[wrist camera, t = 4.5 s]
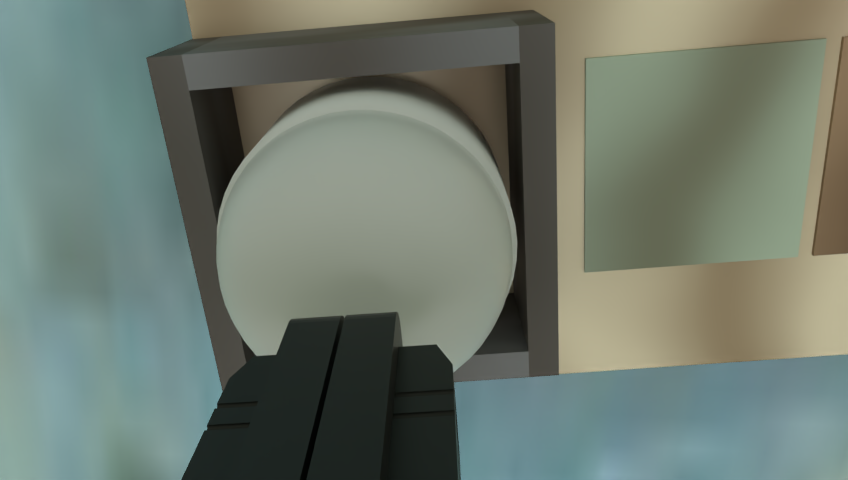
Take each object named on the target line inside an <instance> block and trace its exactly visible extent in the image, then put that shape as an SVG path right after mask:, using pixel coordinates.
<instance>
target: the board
mask: <svg viewBox="0 0 848 480" xmlns="http://www.w3.org/2000/svg"><path fill="white" fill-rule="evenodd" d="M185 3H186V8H187V12H188V17H189V22H190V27H191V32H192V37H193V39H192V40H189V41H187V42H184V43H182V44H179V45H177V46H174V47H172V48H169V49H167V50H164V51H162V52H160V53H157V54H155V55H152V56H150V57H147V58H146V59H147V63H148V67H149V72H150V76H151V80H152V85H153V89H154V93H155V98H156V102H157V107H158V111H159V115H160V120H161V124H162V128H163V133H164V137H165V142H166V146H167V150H168V155H169V159H170V163H171V168H172V172H173V176H174V181H175V185H176V190H177V194H178V198H179V203H180V207H181V211H182V216H183V220H184V224H185V229H186V233H187V238H188V242H189V246H190V251H191V255H192V259H193V264H194V268H195V273H196V277H197V281H198V286H199V290H200V294H201V299H202V303H203V307H204V312H205V316H206V321H207V325H208V329H209V334H210V338H211V342H212V347H213V351H214V355H215V360H216V364H217V369H218V373H219V377H220V382H221V386H222V390H224V388H225V386H226V384H227V382H228V380H229V378H230V377H231V376H232V375H233V374H235V373H236V372H237V371H238V370H239V369H240V368H241V367H242V366H244V365H245V364H246V363H247V362H248V361H249V360H250V359H251V358H253V357H254V356H256V355H255V354H254V352H253V351H252V350H251V349H250V348H249V346H248V345H247V344H246V343H245V341H244V340H243V338H242V337H241V335H240V333H239V332H238V330H237V328H236V327H235V325H234V323H233V321H232V319H231V317H230V315H229V313H228V310H227V308H226V306H225V303H224V300H223V296H222V293H221V289H220V284H219V277H218V270H217V263H216V245H217V224H218V217H219V210H220V207H221V204H222V200H223V197H224V194H225V191H226V189H227V187H228V185H229V183H230V181H231V179H232V176H233V175H234V173H235V172H236V170H237V169H238V167H239V166H240V164H241V163H242V161H243V160H244V159H245V157H246V156H247V155H248V154H249V153H250V152H251V150H252V149H253V148H254V147H255V146H256V144H257V143H258V142H259V141H260V140H261V139H262V137H263V136H264V135H265V134H266V133H267V131H268V130H269V129H270V128H271V127H272V126H273V124H274V123H275V122H276V121H277V120H278V119H279V118H280V117H281V115H282V114H283V113H284V112H285V111H286V110H287V109H288V108H290V107H291V106H292V105H293V104H294V103H296V102H297V101H298V100H299V99H301V98H303V97H304V96H306V95H307V94H309V93H311V92H312V91H314V90H316V89H319V88H321V87H323V86H325V85H328V84H331V83H334V82H337V81H341V80H344V79H350V78H357V77H373V76H381V77H389V78H398V79H402V80H406V81H410V82H414V83H416V84H419V85H421V86H424V87H426V88H429V89H431V90H433V91H435V92H437V93H438V94H440V95H442V96H444V97H446V98H447V99H448V100H450V101H451V102H452V103H454V104H455V105H456V106H458V107H459V108H460V109H461V110H462V111H463V112H464V113H465V114H466V115H467V116H468V117H469V118H470V119H471V120H472V121H473V122H474V123H475V125H476V126H477V127H478V128H479V130H480V131H481V132H482V134H483V135H484V137H485V139H486V141H487V142H488V144H489V146H490V148H491V150H492V152H493V155H494V157H495V160H496V162H497V165H498V168H499V171H500V175H501V178H502V181H503V184H504V187H505V190H506V193H507V196H508V199H509V202H510V205H511V209H512V213H513V217H514V221H515V226H516V235H517V261H516V267H515V272H514V278H513V281H512V284H511V287H510V290H509V293H508V296H507V298H506V300H505V303H504V306H503V309H502V311H501V313H500V315H499V317H498V320H497V322H496V324H495V325H494V327H493V329H492V331H491V332H490V334H489V335H488V337H487V338H486V340H485V341H484V343H483V344H482V346H481V347H480V348H479V349H478V350H477V351H476V352H475V353H474V355H473V356H472V357H471V358H470V359H469V360H468V361H466V362H465V363H464V364H463V365H462V366H461V367H459V368H458V369H457V370H456V371H455V372H454V373H453V376H454V382H462V381H477V380H492V379H506V378H521V377H536V376H550V375H559V374H566V373H581V372H595V371H610V370H625V369H639V368H654V367H668V366H683V365H698V364H712V363H727V362H742V361H756V360H771V359H785V358H800V357H815V356H829V355H844V354H848V0H185Z"/></svg>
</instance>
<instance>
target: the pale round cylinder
mask: <svg viewBox="0 0 848 480" xmlns="http://www.w3.org/2000/svg"><path fill="white" fill-rule="evenodd" d="M516 261H517V235H516V226H515V221H514V217H513V213H512V209H511V205H510V202H509V199H508V196H507V193H506V190H505V187H504V184H503V181H502V178H501V175H500V171H499V168H498V165H497V162H496V160H495V157H494V155H493V152H492V150H491V148H490V146H489V144H488V142H487V141H486V139H485V137H484V135H483V134H482V132H481V131H480V130H479V128H478V127H477V126H476V125H475V123H474V122H473V121H472V120H471V119H470V118H469V117H468V116H467V115H466V114H465V113H464V112H463V111H462V110H461V109H460V108H459V107H458V106H456V105H455V104H454V103H452V102H451V101H450V100H448V99H447V98H446V97H444V96H442V95H440V94H438V93H437V92H435V91H433V90H431V89H429V88H426V87H424V86H421V85H419V84H416V83H414V82H410V81H406V80H402V79H398V78H389V77H381V76H373V77H357V78H350V79H344V80H341V81H337V82H334V83H331V84H328V85H325V86H323V87H321V88H319V89H316V90H314V91H312V92H311V93H309V94H307V95H306V96H304V97H303V98H301V99H299V100H298V101H297V102H296V103H294V104H293V105H292V106H291V107H290V108H288V109H287V110H286V111H285V112H284V113H283V114H282V115H281V117H280V118H279V119H278V120H277V121H276V122H275V123H274V124H273V126H272V127H271V128H270V129H269V130H268V131H267V133H266V134H265V135H264V136H263V137H262V139H261V140H260V141H259V142H258V143H257V144H256V146H255V147H254V148H253V149H252V150H251V152H250V153H249V154H248V155H247V156H246V157H245V159H244V160H243V161H242V163H241V164H240V166H239V167H238V169H237V170H236V172H235V173H234V175H233V176H232V179H231V181H230V183H229V185H228V187H227V189H226V191H225V194H224V197H223V200H222V204H221V207H220V210H219V217H218V224H217V245H216V263H217V270H218V277H219V284H220V289H221V293H222V296H223V300H224V303H225V306H226V308H227V310H228V313H229V315H230V317H231V319H232V321H233V323H234V325H235V327H236V328H237V330H238V332H239V333H240V335H241V337H242V338H243V340H244V341H245V343H246V344H247V345H248V346H249V348H250V349H251V350H252V351H253V352H254V354H255V355H256V356H264V355H276V354H277V351H278V349H279V346H280V343H281V341H282V338H283V336H284V333H285V330H286V328H287V325H288V323H289V321H290V320H291V319H296V318H311V317H327V316H344V318H345V316H346V315H354V314H370V313H385V312H398V314H399V319H400V325H401V334H402V344H403V346H418V345H434V344H437V346H438V347H439V348H440V349H441V351H442V352H443V353H444V354H445V355H446V357H447V358H448V359H449V360H450V362H451V363H452V364H453V373H454V372H455V371H456V370H457V369H458V368H459V367H461V366H462V365H463V364H464V363H465V362H466V361H468V360H469V359H470V358H471V357H472V356H473V355H474V353H475V352H476V351H477V350H478V349H479V348H480V347H481V346H482V344H483V343H484V341H485V340H486V338H487V337H488V335H489V334H490V332H491V331H492V329H493V327H494V325H495V324H496V322H497V320H498V317H499V315H500V313H501V311H502V309H503V306H504V303H505V300H506V298H507V296H508V293H509V290H510V287H511V284H512V281H513V278H514V272H515V267H516Z"/></svg>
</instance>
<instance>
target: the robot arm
mask: <svg viewBox="0 0 848 480" xmlns="http://www.w3.org/2000/svg"><path fill="white" fill-rule="evenodd" d="M182 480H461V473H460V454H459V441H458V428H457V415H456V402H455V389H454V376H453V364H452V363H451V362H450V360H449V359H448V358H447V357H446V355H445V354H444V353H443V352H442V351H441V349H440V348H439V347H438V346H437V344H434V345H418V346H403V344H402V334H401V325H400V319H399V314H398V312H385V313H370V314H354V315H346V316H345V318H344V316H327V317H311V318H296V319H291V320H290V321H289V323H288V325H287V328H286V330H285V333H284V336H283V338H282V341H281V343H280V346H279V349H278V351H277V354H276V355H264V356H254V357H253V358H251V359H250V360H249V361H248V362H247V363H246V364H245V365H244V366H242V367H241V368H240V369H239V370H238V371H237V372H236V373H235V374H233V375H232V376H231V377H230V378H229V380H228V382H227V384H226V386H225V388H224V390H223V392H222V395H221V397H220V399H219V401H218V403H217V409H214V412H213V414H212V416H211V418H210V420H209V422H208V424H207V430H206V431H204V433H203V435H202V437H201V439H200V441H199V443H198V446H197V448H196V450H195V452H194V454H193V456H192V458H191V460H190V463H189V465H188V467H187V469H186V471H185V473H184V475H183V477H182Z"/></svg>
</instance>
